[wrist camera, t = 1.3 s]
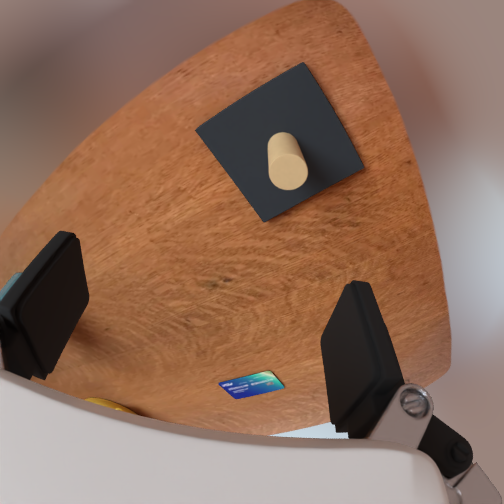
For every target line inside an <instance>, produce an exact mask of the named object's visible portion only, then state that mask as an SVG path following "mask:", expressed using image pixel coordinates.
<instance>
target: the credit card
mask: <svg viewBox="0 0 504 504" xmlns="http://www.w3.org/2000/svg"><path fill="white" fill-rule="evenodd" d="M219 385H220V386H221V387H222V388H223V389H224V390H225V391H227V392H228V393H229V394H230V395H231V396H232V397H233V398H235V399H240V398H245V397H250V396H254V395H258V394H263V393H267V392H271V391H275V390H279V389H283V388H284V386H283V385H282V384H281V382H280V381H279V380H278V379H277V378H276V377H275V376H274V374H273V373H272V372H271V371H265V372H261V373H257V374H254V375H250V376H246V377H242V378H237V379H233V380H229V381H225V382H220V383H219Z"/></svg>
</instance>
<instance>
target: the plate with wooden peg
mask: <svg viewBox="0 0 504 504" xmlns="http://www.w3.org/2000/svg"><path fill="white" fill-rule="evenodd" d="M195 131H196V132H197V134H198V135H199V136H200V137H201V139H202V140H203V141H204V143H205V144H206V145H207V147H208V148H209V149H210V151H211V152H212V153H213V155H214V156H215V157H216V159H217V160H218V161H219V163H220V164H221V165H222V167H223V168H224V169H225V171H226V172H227V173H228V175H229V176H230V177H231V179H232V180H233V181H234V183H235V184H236V185H237V187H238V188H239V189H240V191H241V192H242V194H243V195H244V196H245V198H246V199H247V200H248V202H249V203H250V204H251V206H252V207H253V208H254V210H255V211H256V213H257V214H258V215H259V217H260V218H261V219H262V221H263V222H266V221H268V220H270V219H271V218H273V217H275V216H277V215H279V214H280V213H282V212H284V211H286V210H288V209H289V208H291V207H293V206H295V205H297V204H299V203H300V202H302V201H304V200H306V199H308V198H309V197H311V196H313V195H315V194H317V193H319V192H320V191H322V190H324V189H326V188H328V187H330V186H331V185H333V184H335V183H337V182H339V181H341V180H343V179H344V178H346V177H348V176H350V175H352V174H354V173H356V172H357V171H359V170H361V169H363V168H364V165H363V163H362V161H361V160H360V158H359V156H358V154H357V152H356V150H355V148H354V146H353V144H352V142H351V140H350V138H349V137H348V135H347V133H346V131H345V129H344V127H343V126H342V124H341V122H340V120H339V119H338V117H337V115H336V113H335V112H334V110H333V108H332V106H331V105H330V103H329V101H328V100H327V98H326V96H325V95H324V93H323V91H322V90H321V88H320V87H319V85H318V83H317V82H316V80H315V79H314V77H313V75H312V74H311V72H310V71H309V69H308V68H307V66H306V65H305V63H304V62H302V63H300V64H298V65H297V66H295V67H293V68H291V69H289V70H288V71H286V72H284V73H282V74H281V75H279V76H277V77H275V78H274V79H272V80H270V81H269V82H267V83H265V84H263V85H262V86H260V87H259V88H257V89H255V90H254V91H252V92H250V93H249V94H247V95H246V96H244V97H242V98H241V99H239V100H238V101H236V102H235V103H233V104H232V105H230V106H228V107H227V108H225V109H224V110H222V111H221V112H219V113H218V114H217V115H215V116H214V117H212V118H211V119H209V120H208V121H206V122H205V123H203V124H202V125H201V126H199V127H198V128H197V129H196V130H195Z"/></svg>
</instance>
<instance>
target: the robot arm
mask: <svg viewBox="0 0 504 504" xmlns="http://www.w3.org/2000/svg"><path fill="white" fill-rule="evenodd" d="M88 302H89V292H88V287H87V282H86V276H85V271H84V265H83V259H82V253H81V246H80V241H79V239H78V238H76V235H75V234H74V233H71V232H65V231H59V232H58V233H57V234H56V235H55V236H54V237H53V238H52V239H51V240H50V241H49V243H48V244H47V245H46V246H45V247H44V248H43V249H42V250H41V252H40V253H39V254H38V255H37V256H36V257H35V258H34V260H33V261H32V262H31V263H30V264H29V266H28V267H27V268H26V269H25V270H24V272H23V273H22V274H21V275H20V277H19V278H18V279H17V280H16V282H15V283H14V284H13V285H12V287H11V288H10V289H9V290H8V292H7V293H6V294H5V296H4V297H3V298H2V300H1V301H0V504H502V499H501V496H500V494H499V492H498V491H497V489H496V488H495V486H494V485H493V484H492V482H491V481H490V480H489V478H488V477H487V476H486V474H485V473H484V472H483V470H482V469H481V467H480V466H479V465H478V464H477V462H476V463H475V464H473V463H472V459H473V452H472V448H471V446H470V444H469V443H468V441H466V439H465V438H463V437H462V436H461V435H459V434H458V433H457V432H455V431H454V430H453V429H451V428H450V427H449V426H447V425H446V424H445V423H443V422H442V421H441V420H439V419H438V418H437V417H436V416H434V415H433V410H434V405H433V401H432V398H431V396H430V395H429V393H428V392H427V391H426V390H425V389H424V388H423V387H421V386H419V385H417V384H412V383H409V384H405V382H404V379H403V376H402V373H401V369H400V366H399V363H398V360H397V357H396V354H395V350H394V347H393V344H392V341H391V338H390V336H389V333H388V330H387V327H386V325H385V323H384V321H383V318H382V315H381V313H380V310H379V307H378V304H377V302H376V299H375V296H374V294H373V291H372V288H371V286H370V284H369V283H368V282H362V281H356V280H353V281H352V282H351V283H350V284H346V285H345V287H344V290H343V292H342V294H341V296H340V298H339V300H338V303H337V305H336V307H335V309H334V311H333V313H332V315H331V317H330V319H329V322H328V324H327V326H326V328H325V330H324V332H323V334H322V336H321V351H322V358H323V365H324V372H325V380H326V388H327V396H328V404H329V412H330V420H331V423H332V424H334V425H335V428H336V432H337V433H341V432H342V433H343V432H348V438H349V439H319V438H293V437H276V436H263V435H252V434H242V433H233V432H225V431H218V430H211V429H204V428H198V427H192V426H187V425H181V424H176V423H171V422H166V421H161V420H156V419H152V418H148V417H143V416H139V415H135V414H131V413H127V412H123V411H120V410H116V409H112V408H109V407H105V406H102V405H99V404H95V403H92V402H89V401H86V400H83V399H80V398H77V397H74V396H71V395H68V394H65V393H62V392H59V391H57V390H54V389H51V388H49V387H46V386H43V385H41V384H38V383H35V382H33V381H30V379H31V377H32V375H33V376H35V377H38V378H40V379H43V380H45V379H46V377H47V375H48V373H49V374H50V373H52V371H53V370H54V368H55V365H56V363H57V361H58V359H59V357H60V355H61V353H62V351H63V349H64V347H65V345H66V343H67V341H68V340H69V338H70V336H71V334H72V332H73V330H74V328H75V326H76V324H77V323H78V321H79V319H80V317H81V315H82V313H83V312H84V310H85V308H86V306H87V304H88Z"/></svg>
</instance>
